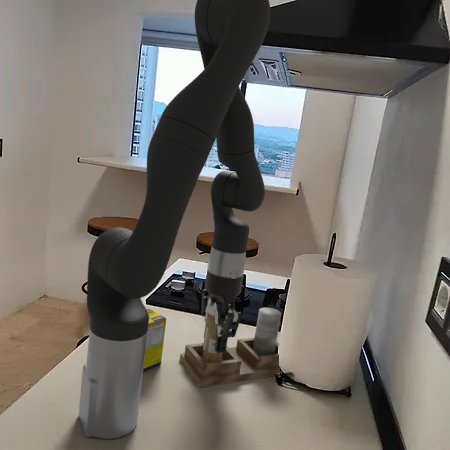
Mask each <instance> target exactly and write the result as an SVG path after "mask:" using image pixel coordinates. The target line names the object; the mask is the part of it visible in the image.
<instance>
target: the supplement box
mask: <svg viewBox="0 0 450 450" xmlns="http://www.w3.org/2000/svg"><path fill="white" fill-rule="evenodd" d="M146 310H147V312H148V314H149V324H148V333H147V342H146V350H145V358H144V367H143V373H144V372H146V371H148V370H151V369H153V368H155V367H157V366H161V365H162V358H163V349H164V342H165V340H164V339H165V333H166V325H167V324H166V323H167V317H166V316H164V315H163V314H161V313H159V312H156V311H155V310H153V309H151V308H146Z"/></svg>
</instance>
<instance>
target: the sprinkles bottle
mask: <svg viewBox="0 0 450 450" xmlns="http://www.w3.org/2000/svg"><path fill="white" fill-rule="evenodd" d="M206 308H207V307H206ZM207 314H208V315H207V322H206V323H205V325H206V328H205V327H204V331H205V336H204V335H203V343H204V345H203V356H202V360H203V361H204V362H205V363H211V362H218V361H222V355H223V352H221V353H217V352H216V351H215V346H216V340H217V335H218V326H217V325H216V324H215V311H214V304H209V303H208V308H207ZM226 319H227V318H223V319H220V320H221V321H224V320H226ZM224 326H225V325H222V330H223V329H224Z"/></svg>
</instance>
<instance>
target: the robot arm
mask: <svg viewBox="0 0 450 450" xmlns="http://www.w3.org/2000/svg"><path fill="white" fill-rule="evenodd" d="M270 19H271V4H270V0H196V4H195V8H194V27H195V33H196V39H197V43H198V47H199V52H200V55H201V56H200V57H201V61H202V65H203V68H204V69H203V70H202V72H200V73H199V74H198V75H197V76H196V77H195V78H194V79H192V81H190V82H189V83H188V84H187V85H186V86H185V87H184V88H183V89H182V90H180V91H179V92H178V93H177V94H176V95H175V96H174V97H173V98H172V99H171V100H170V102H169V103H168V104H167V105H166V107H165V108H164V110H163V112H162V113H161V115H160V118H159V121H158V123H157V125H156V127H155V130H154V132H153V133H152V136H151V139H150V141H149V145H148V148H147V156H146V193H145V198H144V199H145V200H144V203H143V207H142V210H141V213H140V214H139V218H138V220H137V222H136V224H135V226H134V228H133V230H131V229H128V228H126V227H125V228H124V227H113V228H112V227H111V228H109V229H106V230H105V231H103V232H102V233H101V234H99V236H98V237H97V238H96V239H95V240H94V243H93V244H92V247H91V249H90V253H89V258H88V265H87V281H86V284H87V285H86V286H87V287H86V307H87V313H88V316H89V330H88V331H89V333H88V343H87V344H88V345H87V357H86V364H84V365H83V366H82V370H81V371H82V374H81V382H80V383H81V385H80V395H79V396H80V397H79V407H78V417H79V421H80V423H81V424H80V425H81V427H82V430H83V433H84V436H85V438H90V437H91V438H92V437H95V438H98V439H104V440H105V439H106V440H110V439H118V438H122V437H124V436H126V435H128V434H130V433H132V432H133V430H134V429H135V428H136V426H137V424H138V417H139V411H140V399H141V393H142V384H143V373H144V372H143V367H144V358H145V350H146V342H147V333H148V324H149V314H148V312H147V310H146V309H147V308H146V306H145V305H144V303H143V301H142V298H144V297H147V296H148V295H149V294H150V293H151V292H153V291H154V290H155V289H156V287H157V286H158V285H159V283H160V282H161V280H162V279H163V277H164V274H165V272H166V269H167V267H168V264H169V261H170V259H171V256H172V255H171V254H172V252H173V250H174V249H173V248H174V246H175V243H176V239H177V237H178V233H179V232H178V231H179V230H180V226H181V224H182V220H183V217H184V215H185V213H186V210H187V207H188V205H189V203H190V199H191V198H192V195H193V192H194V190H195V188H196V184H197V182H198V180H199V177H200V175H201V173H202V171H203V168H204V166H205V165H206V163H207V160H208V159H209V156H210V153H211V151H212V149H213V146H214V144H215V142H216V153H217V159H218V162H220V164H221V165H222V166H224V167H227V168H228V169H230V170H232V171H230V170H222V171H219V172H218V173H217V174H216V175H215V177H214V178H213V180H212V183H211V187H210V199H211V207H212V213H213V215H212V216H213V222H214V223H213V224H214V225H213V226H214V227H213V228H214V230H213V235H212V236H213V237H212V243H211V247H210V248H211V250H210V252H209V255H208V262H207V268H206V275H205V283H204V289H202V291H201V309H200V311H201V312H200V313H201V317H204V319H203V320H204V323H205V325H204V329H205V328H206V322H207V315H208V314H207V308H208V303H209V304H214V311H215V324H216V325H217V326H218V335H217V340H216V346H215V351H216V352H217V353H221V352H225V351H226V346H227V347H228V340H229V338H234V337H236V334H237V331H238V328H239V325H240V323H241V320H242V312H241V311H236V309H235V299H236V297H237V296H239V295H240V294H241V292H242V285H243V282H244V281H243V280H244V275H245V269H246V268H245V266H246V262H247V261H246V259H247V258H246V257H247V256H246V254H247V248H248V241H249V234H250V227H249V225H248V224H247V222H245V221H243V220H241V219H240V218H238V217H236V215H235V213H234V211H233V209H236V210H240V211H244V212H254V211H256V210H258V209H259V208H260V207H261V206H262V204H263V203H264V199H265V196H266V195H265V194H266V193H265V192H266V191H265V183H264V179H263V175H262V173H261V169H260V166H259V163H258V160H257V157H256V152H255V127H254V126H255V125H254V120H253V119H254V118H253V115H252V112H251V108H250V107H249V103H248V102H247V99H246V97H245V96H244V94H243V92H242V90H241V88H240V86H241V84H242V81H243V79H244V78H245V76H246V74H247V73H248V70H249V69H250V66H251V65H252V63H253V61H254V60H255V57H257V54H258V52H259V50H260V48H261V46H262V45H263V43H264V40H265V38H266V34H267V32H268V30H269V25H270ZM223 318H227V319H226V320H224V321H221V320H220V319H223ZM222 325H225V326H224V329H223V330H222ZM204 336H205V330H204V332H203V337H204Z"/></svg>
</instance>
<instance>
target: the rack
mask: <svg viewBox="0 0 450 450" xmlns="http://www.w3.org/2000/svg"><path fill="white" fill-rule="evenodd" d="M281 317H282V312H281V311H280V310H278V309H276V308H272V307H261V308H259V309H258V315H257V322H256V327H255V333H254V337H248V338H240V339H237V341H236V346H234V347H233V346H232V347H229V346H228V345H227V346H226V351H225V352H223V355H222V361H218V362H211V363H205V362H204V361H203V360H202V356H203V345H204V342H201V343H200V342H199V343H194V344H193V343H192V344H185V349H184V352H181V353H180V355H179V361H180V362H181V363H182V365H183V366H184V368H185V369H186V370H187V372H188V373H189V374H190V375H191V377H192V378H193V380H194V381H195V382H196V384H197V385H198V386H199V387H200V388H203V387H210V386H216V385H222V384H223V385H224V384H229V383H235V382H241V381H248V380H254V379H261V378H267V377H274V376H276V375H275V374H278V373H280V367H279V354H278V346H279V344H280V343H279V342H278V334H279V330H280V323H281V319H282V318H281Z"/></svg>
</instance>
